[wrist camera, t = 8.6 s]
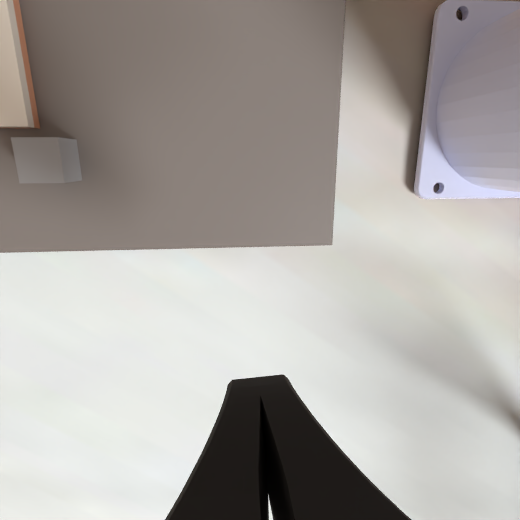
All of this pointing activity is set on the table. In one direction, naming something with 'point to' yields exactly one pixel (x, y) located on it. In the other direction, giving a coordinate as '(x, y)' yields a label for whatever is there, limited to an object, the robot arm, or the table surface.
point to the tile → (15, 72)
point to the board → (175, 126)
